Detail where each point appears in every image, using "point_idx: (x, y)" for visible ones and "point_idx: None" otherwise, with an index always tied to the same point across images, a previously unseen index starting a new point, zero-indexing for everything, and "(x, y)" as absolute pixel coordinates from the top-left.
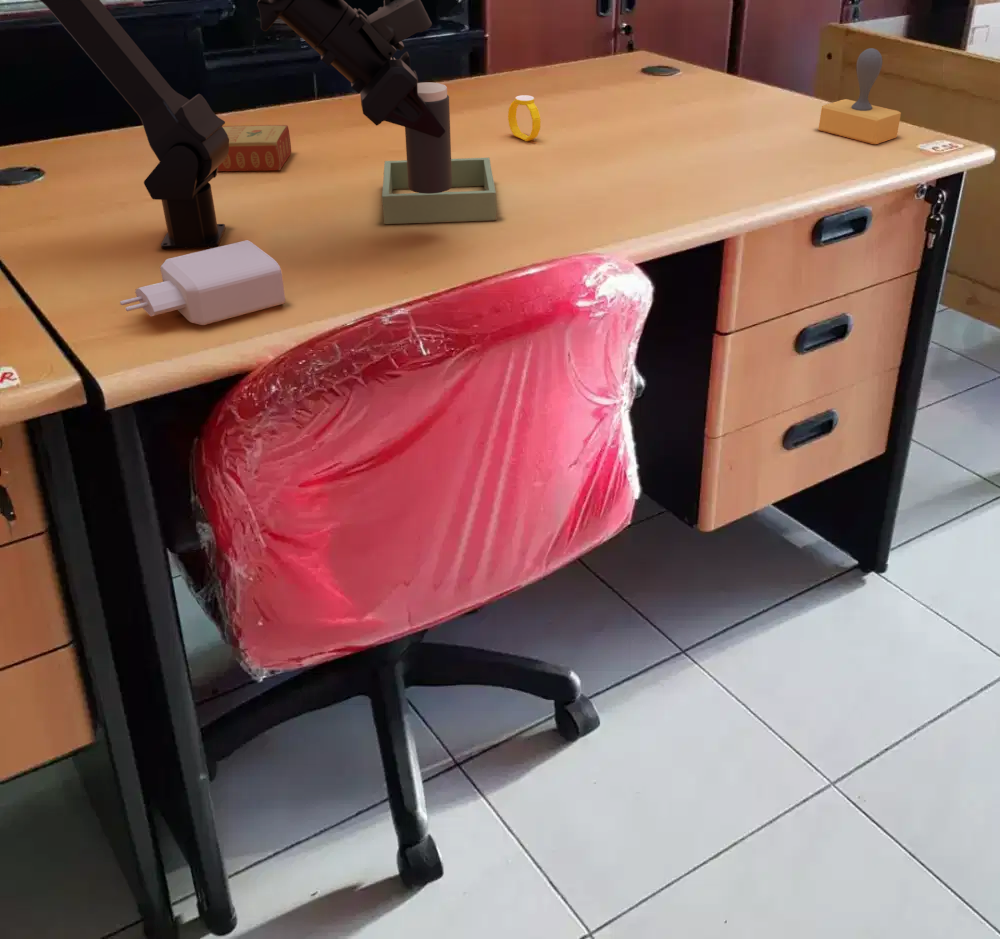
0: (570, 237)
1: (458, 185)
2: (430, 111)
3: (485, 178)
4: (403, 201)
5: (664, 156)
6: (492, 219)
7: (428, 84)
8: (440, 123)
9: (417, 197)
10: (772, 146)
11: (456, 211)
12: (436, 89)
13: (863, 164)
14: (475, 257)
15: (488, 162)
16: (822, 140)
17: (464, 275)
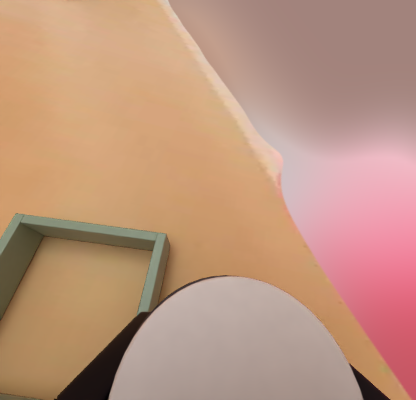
0: (236, 185)
1: (24, 269)
2: (379, 391)
3: (72, 233)
4: None
5: (61, 73)
6: (169, 249)
7: (170, 381)
8: None
9: None
10: (83, 23)
11: (157, 294)
12: (290, 343)
13: (144, 6)
14: None
15: (36, 218)
16: (88, 4)
17: (337, 318)
